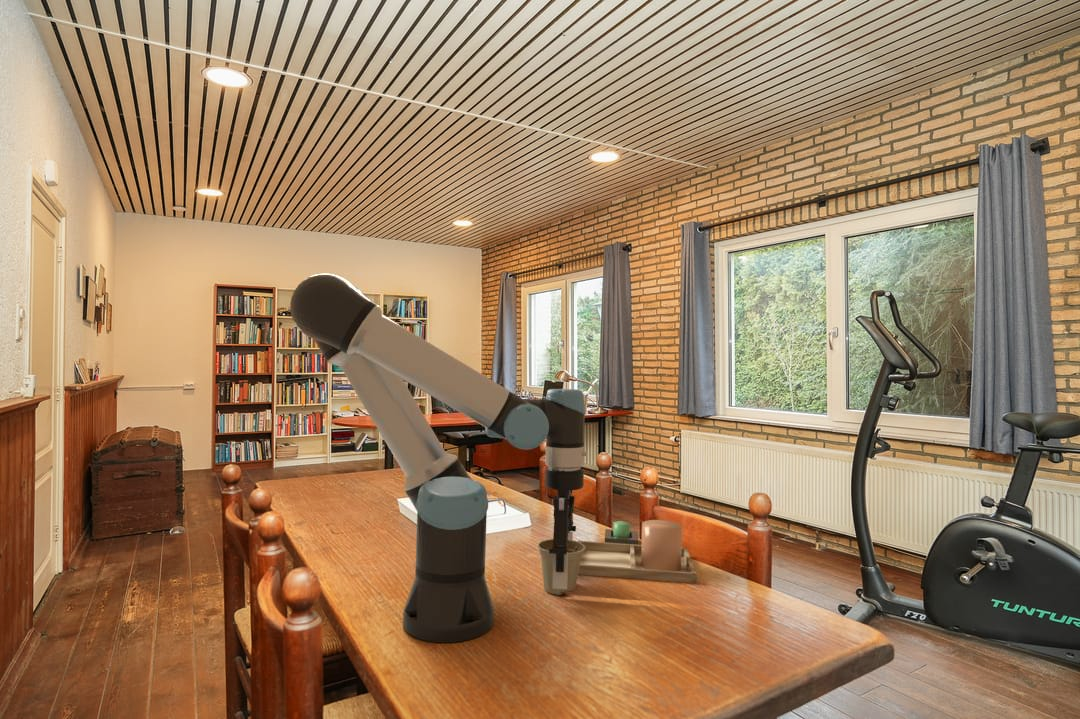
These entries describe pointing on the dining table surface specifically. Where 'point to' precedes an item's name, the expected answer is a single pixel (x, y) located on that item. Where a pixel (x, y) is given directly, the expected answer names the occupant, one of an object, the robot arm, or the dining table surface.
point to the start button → (621, 529)
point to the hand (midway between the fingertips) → (562, 576)
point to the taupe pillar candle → (661, 545)
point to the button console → (621, 538)
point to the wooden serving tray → (629, 563)
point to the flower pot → (574, 559)
